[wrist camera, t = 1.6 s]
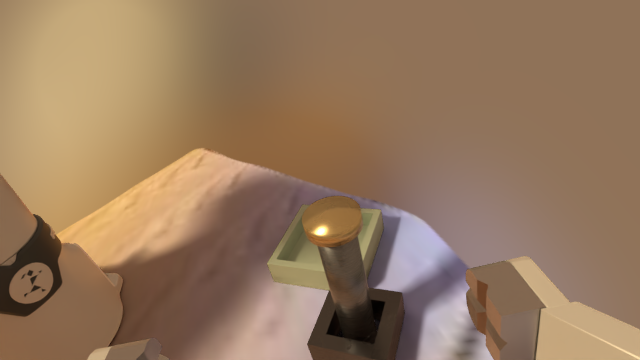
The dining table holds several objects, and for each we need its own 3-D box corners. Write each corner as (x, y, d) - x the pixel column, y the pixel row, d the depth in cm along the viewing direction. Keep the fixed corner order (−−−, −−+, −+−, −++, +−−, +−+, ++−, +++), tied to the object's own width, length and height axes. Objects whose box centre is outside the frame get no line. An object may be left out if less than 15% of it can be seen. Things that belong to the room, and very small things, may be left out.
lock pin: (332, 353, 36) (292, 231, 27) (346, 313, 39) (314, 194, 31) (378, 364, 34) (350, 237, 26) (388, 321, 37) (367, 197, 29)
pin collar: (314, 363, 35) (307, 344, 34) (337, 301, 40) (332, 282, 39) (390, 381, 32) (386, 362, 31) (404, 312, 38) (402, 292, 36)
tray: (274, 281, 45) (266, 263, 43) (307, 221, 52) (302, 204, 51) (361, 295, 40) (357, 276, 39) (383, 228, 48) (381, 209, 47)
